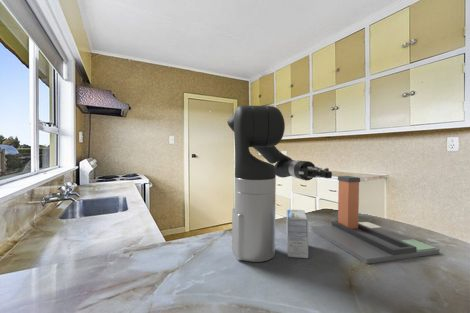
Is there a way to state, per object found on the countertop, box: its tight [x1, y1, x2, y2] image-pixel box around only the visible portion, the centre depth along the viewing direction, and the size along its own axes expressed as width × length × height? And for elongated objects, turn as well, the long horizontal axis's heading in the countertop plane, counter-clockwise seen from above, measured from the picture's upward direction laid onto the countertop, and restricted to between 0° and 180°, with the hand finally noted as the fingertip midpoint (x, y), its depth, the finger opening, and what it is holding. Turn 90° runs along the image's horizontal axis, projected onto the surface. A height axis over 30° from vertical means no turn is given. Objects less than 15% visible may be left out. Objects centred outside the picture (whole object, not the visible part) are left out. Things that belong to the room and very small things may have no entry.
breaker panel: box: [310, 219, 441, 264], centre depth 58 cm, size 20×20×2 cm
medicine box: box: [286, 209, 309, 259], centre depth 52 cm, size 8×4×9 cm, turn 168°
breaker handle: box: [337, 175, 361, 229], centre depth 64 cm, size 4×4×14 cm
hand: (329, 175), depth 73 cm, fingers closed
